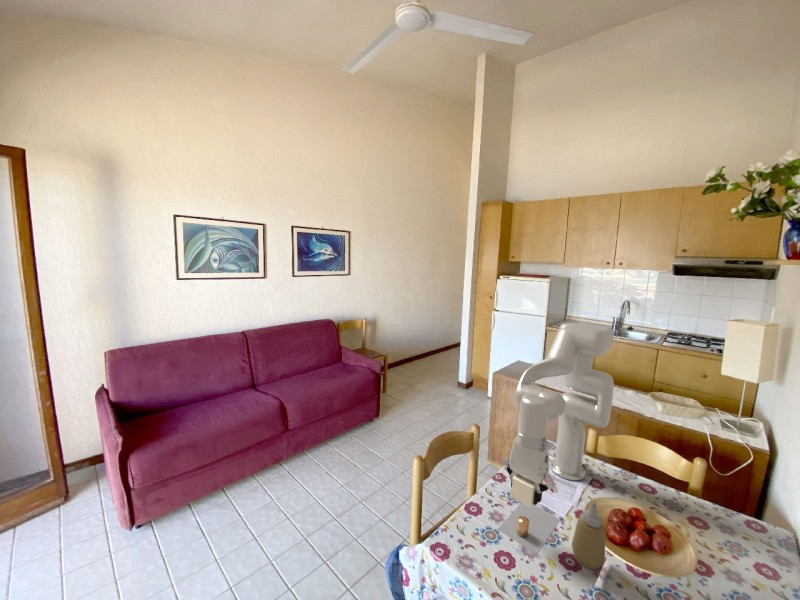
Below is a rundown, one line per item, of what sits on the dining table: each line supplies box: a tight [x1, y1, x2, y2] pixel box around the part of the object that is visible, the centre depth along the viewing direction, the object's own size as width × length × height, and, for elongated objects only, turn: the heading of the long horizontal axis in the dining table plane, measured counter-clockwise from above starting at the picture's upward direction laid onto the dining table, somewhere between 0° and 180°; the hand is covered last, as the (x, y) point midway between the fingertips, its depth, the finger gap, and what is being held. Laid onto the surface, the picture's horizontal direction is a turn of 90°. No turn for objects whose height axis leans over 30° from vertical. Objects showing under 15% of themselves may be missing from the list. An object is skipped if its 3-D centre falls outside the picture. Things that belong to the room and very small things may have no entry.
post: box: [517, 516, 529, 538], centre depth 102 cm, size 3×3×4 cm
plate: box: [497, 502, 561, 555], centre depth 106 cm, size 18×12×1 cm, turn 135°
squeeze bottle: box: [571, 501, 606, 570], centre depth 93 cm, size 8×8×18 cm
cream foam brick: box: [510, 474, 536, 508], centre depth 99 cm, size 6×6×6 cm
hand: (525, 496), depth 100 cm, fingers closed on cream foam brick, 5 cm apart
